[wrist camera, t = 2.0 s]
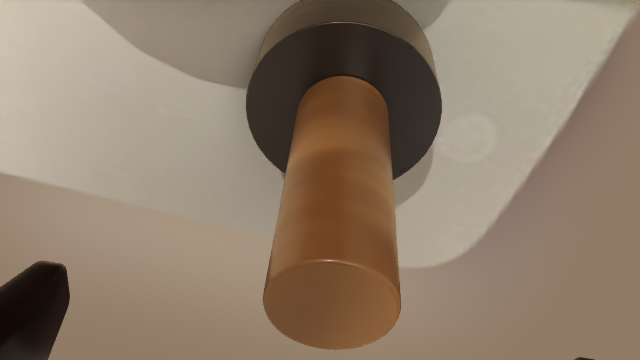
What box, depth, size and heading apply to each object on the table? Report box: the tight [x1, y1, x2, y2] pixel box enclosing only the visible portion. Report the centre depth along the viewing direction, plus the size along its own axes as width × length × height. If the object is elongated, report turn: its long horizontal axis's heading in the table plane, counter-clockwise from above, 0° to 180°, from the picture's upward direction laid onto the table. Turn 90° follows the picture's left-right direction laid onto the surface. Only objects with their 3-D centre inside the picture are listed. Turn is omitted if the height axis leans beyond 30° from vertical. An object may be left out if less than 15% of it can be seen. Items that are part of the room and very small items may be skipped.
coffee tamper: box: [246, 0, 442, 350], centre depth 14 cm, size 6×6×10 cm
